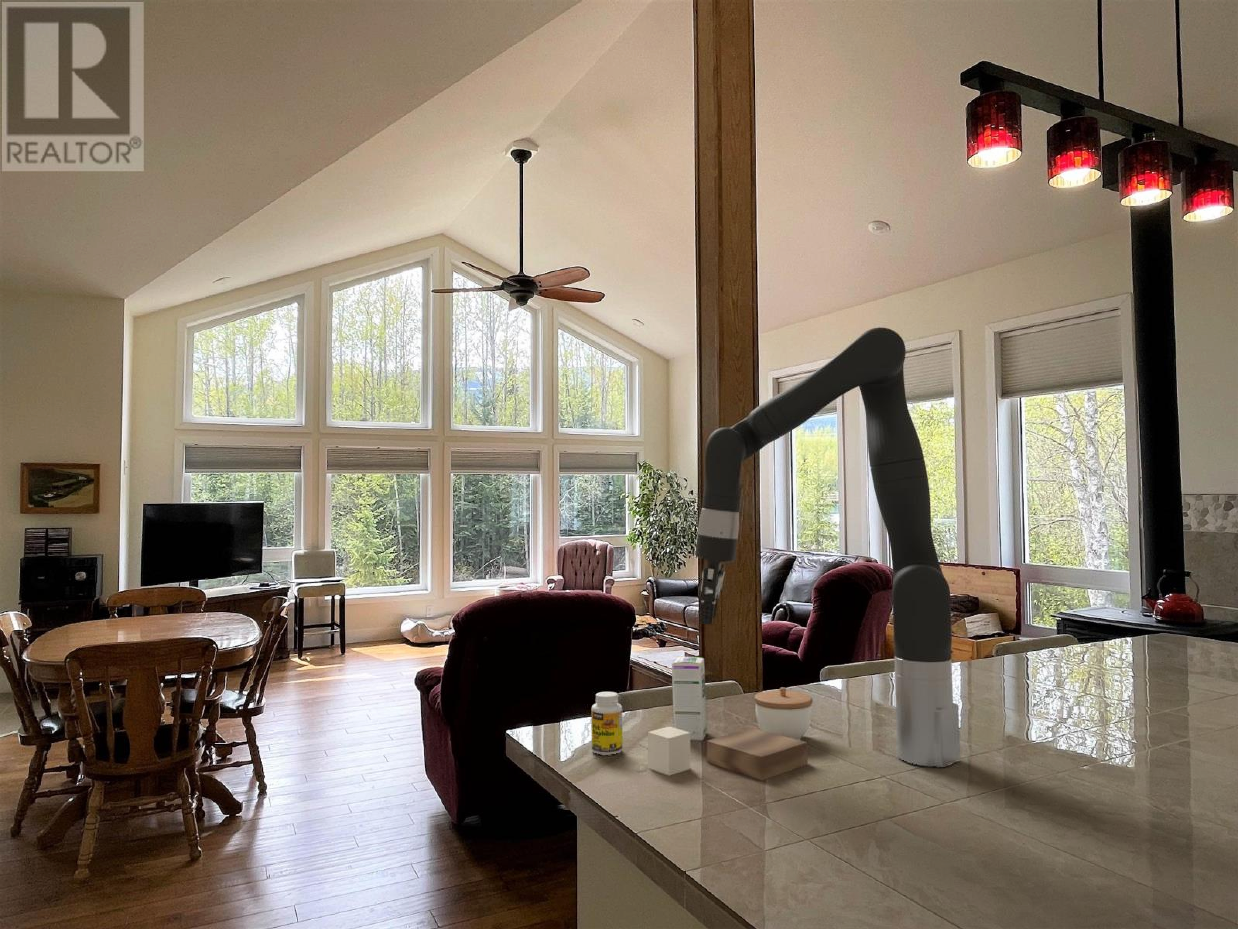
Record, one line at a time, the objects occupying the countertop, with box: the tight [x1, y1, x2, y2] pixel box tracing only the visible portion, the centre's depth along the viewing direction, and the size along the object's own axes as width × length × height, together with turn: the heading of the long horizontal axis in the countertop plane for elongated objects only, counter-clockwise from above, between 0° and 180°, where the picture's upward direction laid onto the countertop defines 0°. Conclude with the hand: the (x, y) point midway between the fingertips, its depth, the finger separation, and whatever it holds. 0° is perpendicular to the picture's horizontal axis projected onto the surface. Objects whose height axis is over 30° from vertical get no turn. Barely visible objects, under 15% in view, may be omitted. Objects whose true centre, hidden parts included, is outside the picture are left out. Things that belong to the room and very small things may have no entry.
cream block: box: [647, 726, 692, 776], centre depth 132 cm, size 5×5×6 cm
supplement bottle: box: [590, 691, 623, 756], centre depth 141 cm, size 6×6×10 cm
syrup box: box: [671, 656, 708, 741], centre depth 151 cm, size 6×6×14 cm
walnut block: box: [706, 727, 809, 781], centre depth 134 cm, size 12×12×4 cm
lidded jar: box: [754, 686, 813, 741], centre depth 148 cm, size 11×11×9 cm
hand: (708, 620), depth 147 cm, fingers open, 8 cm apart
